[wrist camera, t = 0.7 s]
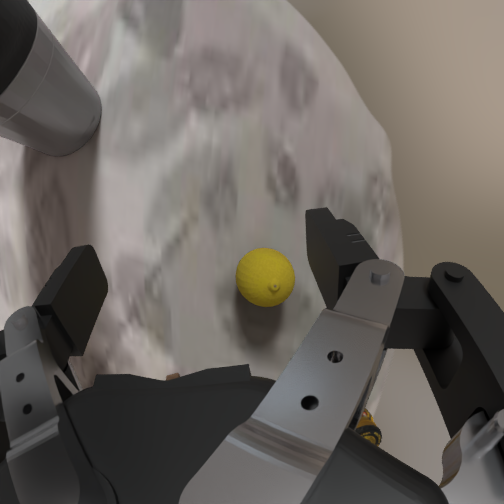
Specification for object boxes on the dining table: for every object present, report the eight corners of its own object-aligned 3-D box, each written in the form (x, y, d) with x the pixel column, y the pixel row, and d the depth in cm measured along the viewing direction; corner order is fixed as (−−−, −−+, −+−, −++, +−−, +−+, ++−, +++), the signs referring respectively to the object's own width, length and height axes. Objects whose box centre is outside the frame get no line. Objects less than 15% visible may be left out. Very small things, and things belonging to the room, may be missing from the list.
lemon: (290, 261, 35) (317, 275, 27) (263, 302, 35) (283, 328, 27) (249, 234, 34) (266, 241, 26) (221, 278, 34) (229, 298, 26)
